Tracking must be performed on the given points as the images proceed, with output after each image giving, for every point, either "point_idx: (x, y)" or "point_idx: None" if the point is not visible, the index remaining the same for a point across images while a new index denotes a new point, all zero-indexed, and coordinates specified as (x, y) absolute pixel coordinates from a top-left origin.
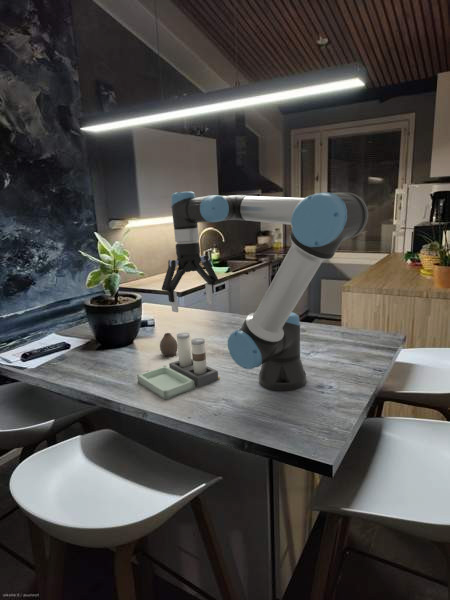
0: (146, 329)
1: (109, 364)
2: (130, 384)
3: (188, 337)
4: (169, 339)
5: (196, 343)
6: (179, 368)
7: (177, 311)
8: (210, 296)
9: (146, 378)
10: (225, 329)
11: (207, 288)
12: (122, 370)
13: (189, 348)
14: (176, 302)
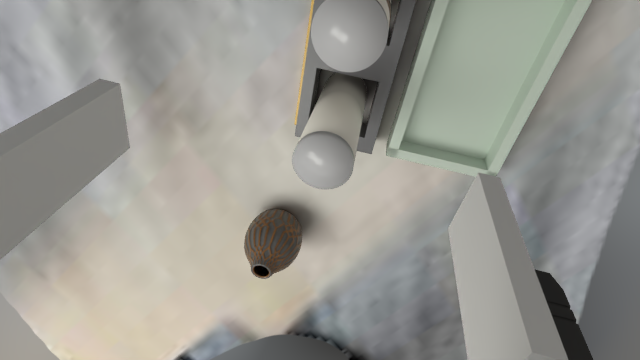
0: (209, 356)
1: (422, 300)
2: (513, 174)
3: (317, 131)
4: (271, 249)
5: (384, 10)
6: (387, 92)
7: (489, 178)
8: (68, 120)
9: (508, 135)
10: None
11: (11, 209)
12: (437, 253)
13: (325, 108)
14: (510, 239)
